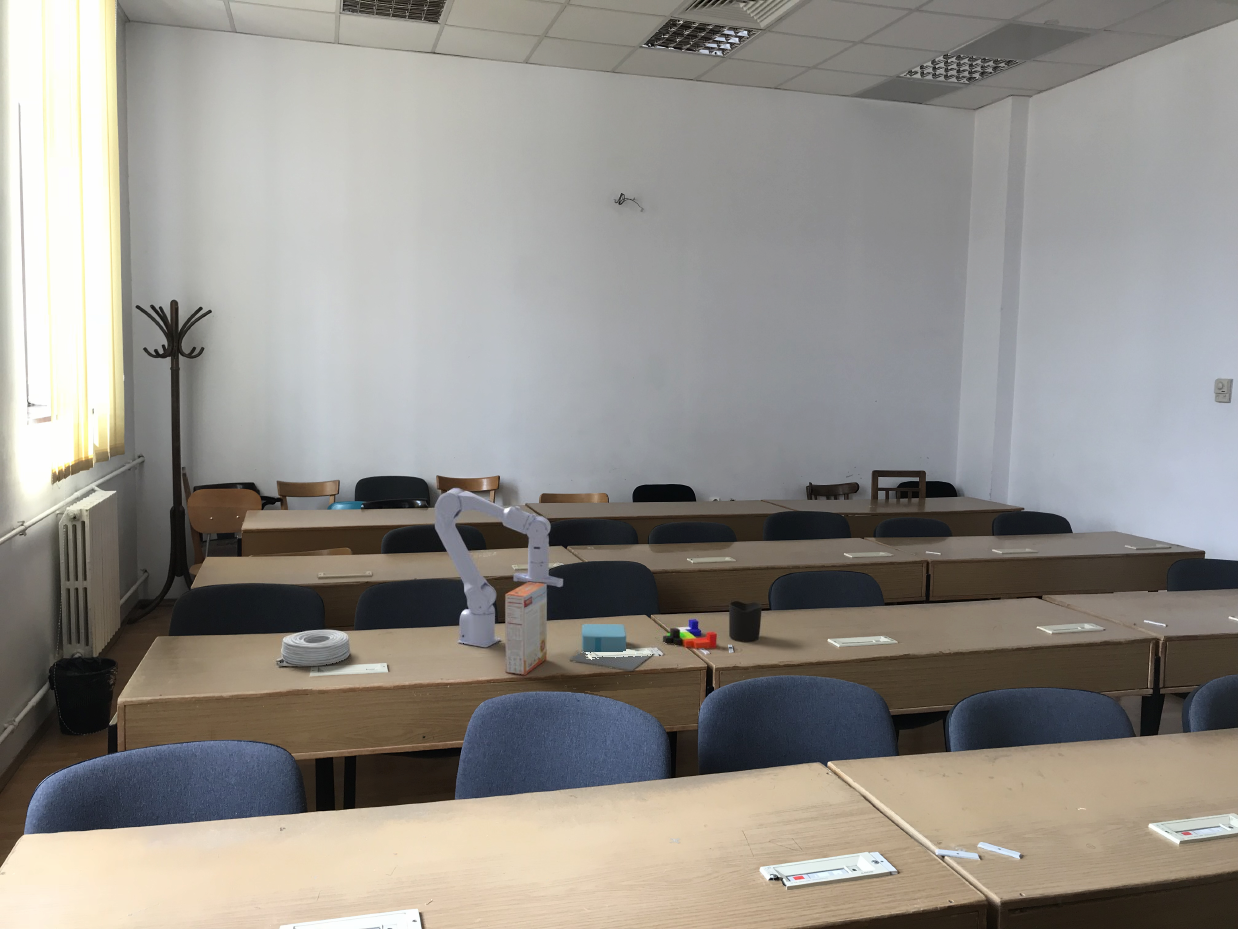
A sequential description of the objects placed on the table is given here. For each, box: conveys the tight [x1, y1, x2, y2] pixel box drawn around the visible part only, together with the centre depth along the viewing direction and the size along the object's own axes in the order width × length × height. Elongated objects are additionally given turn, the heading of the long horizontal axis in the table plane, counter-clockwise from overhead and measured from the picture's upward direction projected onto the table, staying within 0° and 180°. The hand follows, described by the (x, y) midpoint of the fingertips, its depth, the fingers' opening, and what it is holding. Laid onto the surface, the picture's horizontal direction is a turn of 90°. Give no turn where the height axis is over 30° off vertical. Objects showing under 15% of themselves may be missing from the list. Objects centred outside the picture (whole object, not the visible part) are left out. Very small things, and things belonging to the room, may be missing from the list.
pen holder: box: [728, 600, 763, 643], centre depth 275 cm, size 9×9×10 cm
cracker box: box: [504, 582, 548, 676], centre depth 246 cm, size 14×6×21 cm, turn 160°
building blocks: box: [662, 618, 717, 650], centre depth 271 cm, size 15×13×4 cm
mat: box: [569, 652, 651, 672], centre depth 256 cm, size 18×16×1 cm
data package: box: [581, 623, 627, 652], centre depth 264 cm, size 12×4×12 cm
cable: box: [275, 629, 351, 667], centre depth 250 cm, size 18×18×6 cm
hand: (537, 608), depth 263 cm, fingers closed
